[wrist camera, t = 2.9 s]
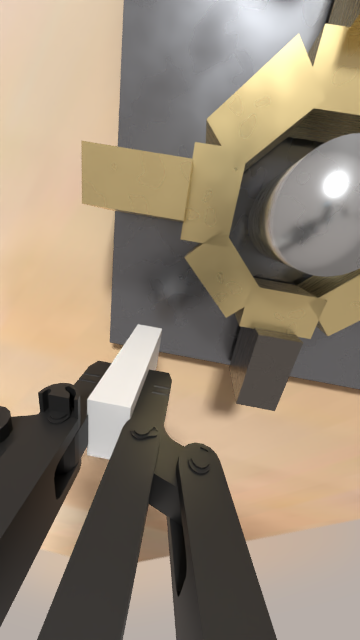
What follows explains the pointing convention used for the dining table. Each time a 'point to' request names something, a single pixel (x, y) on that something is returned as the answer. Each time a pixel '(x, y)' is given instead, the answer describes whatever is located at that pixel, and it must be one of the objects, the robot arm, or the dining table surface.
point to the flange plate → (256, 186)
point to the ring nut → (222, 193)
